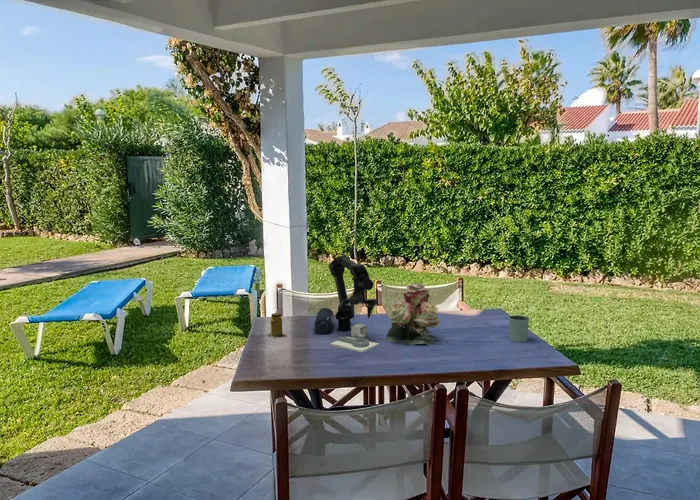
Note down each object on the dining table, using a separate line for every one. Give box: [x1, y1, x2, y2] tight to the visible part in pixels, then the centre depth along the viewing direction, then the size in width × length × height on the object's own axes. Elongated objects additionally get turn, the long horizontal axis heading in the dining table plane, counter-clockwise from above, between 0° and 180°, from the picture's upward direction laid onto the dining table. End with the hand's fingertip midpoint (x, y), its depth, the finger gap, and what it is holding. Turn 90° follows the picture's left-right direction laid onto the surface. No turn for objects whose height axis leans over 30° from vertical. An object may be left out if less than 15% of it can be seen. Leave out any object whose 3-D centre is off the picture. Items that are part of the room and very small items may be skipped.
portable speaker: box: [314, 307, 335, 334], centre depth 304 cm, size 25×10×10 cm, turn 179°
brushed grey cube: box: [350, 323, 368, 339], centre depth 288 cm, size 6×6×6 cm
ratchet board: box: [330, 334, 379, 354], centre depth 273 cm, size 20×14×6 cm
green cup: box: [508, 314, 530, 343], centre depth 279 cm, size 10×10×12 cm
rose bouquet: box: [385, 282, 441, 346], centre depth 282 cm, size 26×29×30 cm
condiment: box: [269, 312, 288, 338], centre depth 292 cm, size 7×8×12 cm
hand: (360, 317), depth 284 cm, fingers open, 9 cm apart
